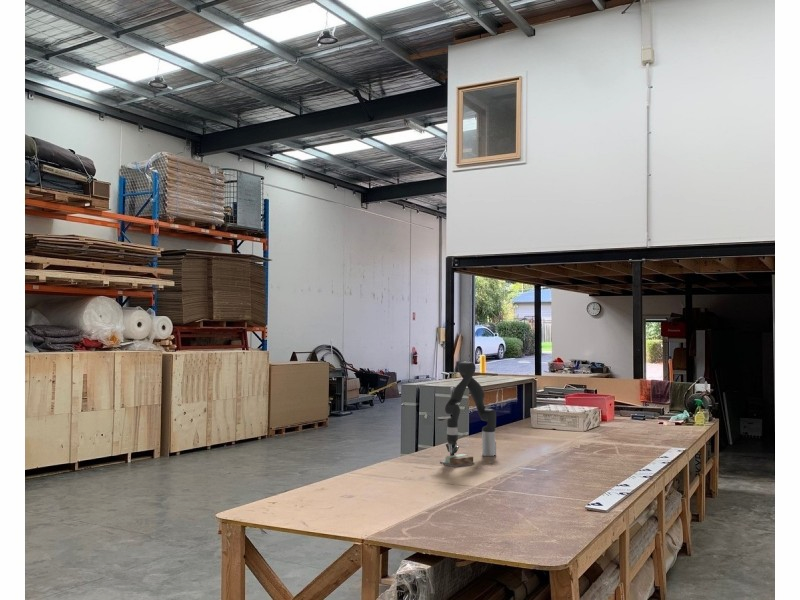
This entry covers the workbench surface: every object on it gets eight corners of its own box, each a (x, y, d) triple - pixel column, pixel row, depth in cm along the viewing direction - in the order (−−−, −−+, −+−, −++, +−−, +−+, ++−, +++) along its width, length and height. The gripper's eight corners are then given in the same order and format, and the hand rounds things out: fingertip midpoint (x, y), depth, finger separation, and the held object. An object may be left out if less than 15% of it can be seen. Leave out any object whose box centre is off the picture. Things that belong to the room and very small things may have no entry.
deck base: (461, 460, 455) (461, 458, 455) (474, 464, 442) (474, 462, 442) (439, 462, 446) (439, 461, 446) (452, 466, 433) (452, 465, 433)
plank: (462, 459, 452) (462, 453, 452) (467, 460, 448) (467, 454, 448) (445, 462, 442) (445, 456, 442) (450, 463, 438) (450, 457, 438)
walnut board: (468, 461, 446) (468, 455, 446) (473, 462, 442) (473, 456, 442) (449, 463, 438) (449, 457, 438) (454, 465, 433) (454, 459, 434)
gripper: (462, 434, 446) (462, 460, 445) (451, 431, 457) (451, 456, 456) (453, 435, 442) (453, 461, 441) (442, 432, 453) (442, 457, 453)
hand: (452, 458), depth 449 cm, fingers closed
